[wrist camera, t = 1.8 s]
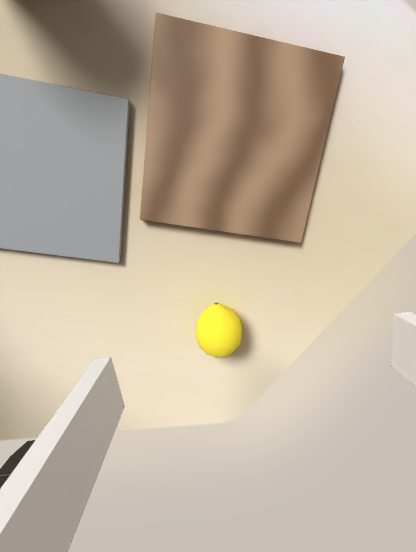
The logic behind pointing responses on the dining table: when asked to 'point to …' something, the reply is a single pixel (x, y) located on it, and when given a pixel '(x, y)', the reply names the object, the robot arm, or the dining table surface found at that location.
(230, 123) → the walnut board
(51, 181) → the slate grey mat
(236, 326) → the lemon
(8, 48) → the dining table surface
